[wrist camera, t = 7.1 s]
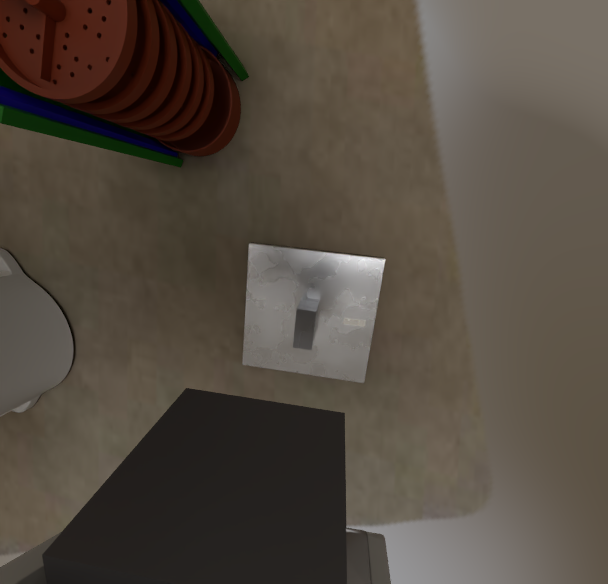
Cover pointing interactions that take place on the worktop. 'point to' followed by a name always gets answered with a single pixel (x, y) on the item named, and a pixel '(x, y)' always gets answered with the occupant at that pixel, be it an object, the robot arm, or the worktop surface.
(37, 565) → the robot arm
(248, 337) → the shaft plate
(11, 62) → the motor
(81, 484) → the worktop surface
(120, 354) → the worktop surface
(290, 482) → the dark grey cube
